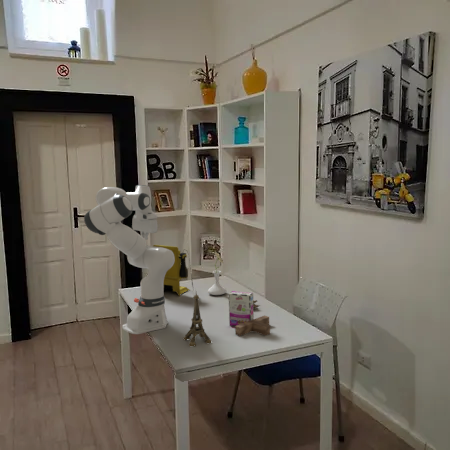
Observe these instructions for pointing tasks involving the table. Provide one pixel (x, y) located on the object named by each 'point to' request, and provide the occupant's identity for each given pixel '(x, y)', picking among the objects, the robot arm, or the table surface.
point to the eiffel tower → (194, 329)
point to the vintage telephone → (176, 271)
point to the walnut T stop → (254, 326)
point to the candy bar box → (240, 307)
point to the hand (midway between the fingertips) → (145, 239)
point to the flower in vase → (217, 281)
